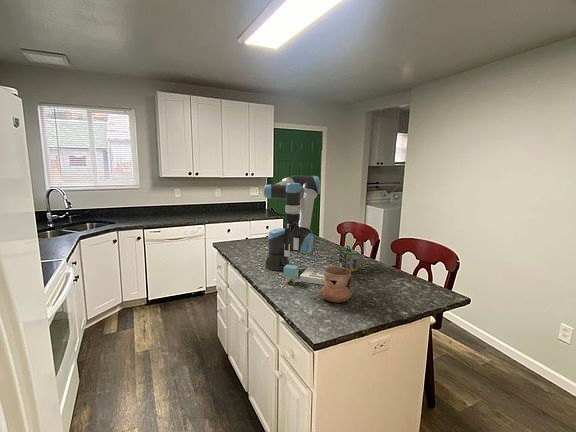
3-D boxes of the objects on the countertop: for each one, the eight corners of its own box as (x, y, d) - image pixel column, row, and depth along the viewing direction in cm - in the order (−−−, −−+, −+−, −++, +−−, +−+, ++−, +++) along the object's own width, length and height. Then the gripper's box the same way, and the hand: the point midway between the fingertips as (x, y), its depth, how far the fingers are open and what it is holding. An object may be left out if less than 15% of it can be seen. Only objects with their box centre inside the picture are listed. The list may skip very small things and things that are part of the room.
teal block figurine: (283, 282, 164) (283, 267, 163) (286, 279, 169) (287, 264, 168) (295, 284, 162) (295, 269, 161) (298, 281, 167) (298, 266, 165)
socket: (299, 281, 167) (299, 274, 166) (308, 271, 182) (308, 265, 181) (336, 287, 160) (336, 280, 159) (342, 276, 175) (342, 270, 174)
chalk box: (359, 271, 185) (360, 247, 182) (345, 272, 182) (346, 248, 180) (351, 266, 193) (353, 243, 191) (338, 267, 191) (339, 244, 188)
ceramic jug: (330, 308, 136) (332, 278, 133) (311, 296, 148) (313, 267, 146) (361, 301, 145) (363, 272, 142) (341, 290, 157) (343, 263, 155)
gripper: (291, 217, 146) (290, 260, 150) (306, 210, 170) (305, 248, 173) (276, 215, 149) (275, 258, 152) (293, 209, 172) (292, 246, 176)
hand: (291, 252), depth 163 cm, fingers open, 13 cm apart
